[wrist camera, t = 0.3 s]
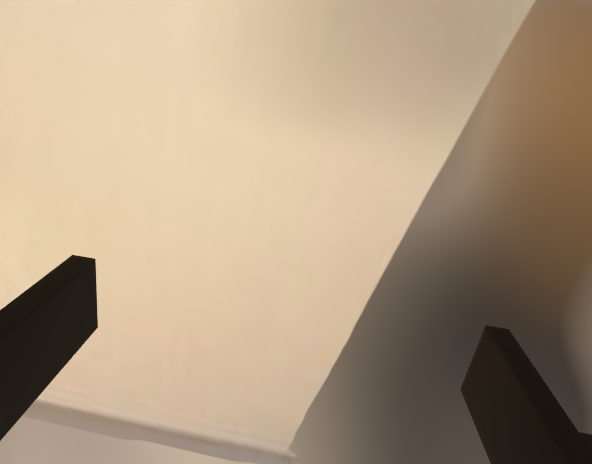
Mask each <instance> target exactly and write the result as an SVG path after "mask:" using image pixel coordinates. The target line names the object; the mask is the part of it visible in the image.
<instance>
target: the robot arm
mask: <svg viewBox="0 0 592 464" xmlns="http://www.w3.org/2000/svg"><path fill="white" fill-rule="evenodd" d="M97 327H98V322H97V293H96V264H95V259H93V258H87V257H81V256H75V255H72V256H71V257H69V258H68V259H67V260H65V261H64V262H63V263H62V264H60V265H59V266H58V267H56V268H55V269H54V270H52V271H51V272H50V273H48V274H47V275H46V276H45V277H43V278H42V279H41V280H39V281H38V282H37V283H35V284H34V285H33V286H32V287H30V288H29V289H28V290H26V291H25V292H24V293H22V294H21V295H20V296H18V297H17V298H16V299H15V300H13V301H12V302H11V303H9V304H8V305H7V306H5V307H4V308H3V309H1V310H0V440H1V439H2V438H3V437H4V436H5V435H6V434H7V432H8V431H9V430H10V429H11V428H12V427H13V425H14V424H15V423H16V422H17V421H18V420H19V418H20V417H21V416H22V415H23V414H24V413H25V411H26V410H27V409H28V408H29V407H30V406H31V404H32V403H33V402H34V401H35V400H36V399H37V397H38V396H39V395H40V394H41V393H42V392H43V390H44V389H45V388H46V387H47V386H48V385H49V383H50V382H51V381H52V380H53V379H54V378H55V376H56V375H57V374H58V373H59V372H60V371H61V369H62V368H63V367H64V366H65V365H66V364H67V362H68V361H69V360H70V359H71V358H72V357H73V355H74V354H75V353H76V352H77V351H78V350H79V348H80V347H81V346H82V345H83V344H84V343H85V341H86V340H87V339H88V338H89V337H90V336H91V334H92V333H93V332H94V331H95V330H96V329H97ZM461 391H462V394H463V397H464V399H465V402H466V404H467V406H468V408H469V411H470V413H471V416H472V419H473V421H474V423H475V426H476V428H477V431H478V433H479V436H480V438H481V441H482V443H483V446H484V448H485V451H486V453H487V455H488V458H489V460H490V463H491V464H592V435H591V434H586V433H580V432H578V431H577V429H576V428H575V426H574V425H573V423H572V422H571V420H570V419H569V418H568V416H567V415H566V413H565V412H564V410H563V409H562V407H561V406H560V404H559V403H558V401H557V400H556V398H555V397H554V396H553V394H552V392H551V391H550V390H549V388H548V386H547V385H546V384H545V382H544V381H543V379H542V378H541V376H540V375H539V373H538V372H537V370H536V369H535V367H534V366H533V364H532V363H531V361H530V360H529V359H528V357H527V356H526V354H525V353H524V351H523V350H522V348H521V347H520V345H519V344H518V342H517V341H516V339H515V338H514V336H513V335H512V334H511V332H510V331H509V329H504V328H498V327H492V326H485V329H484V332H483V334H482V336H481V339H480V341H479V344H478V346H477V349H476V351H475V354H474V357H473V359H472V362H471V364H470V367H469V369H468V372H467V374H466V377H465V379H464V382H463V384H462V387H461Z"/></svg>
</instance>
